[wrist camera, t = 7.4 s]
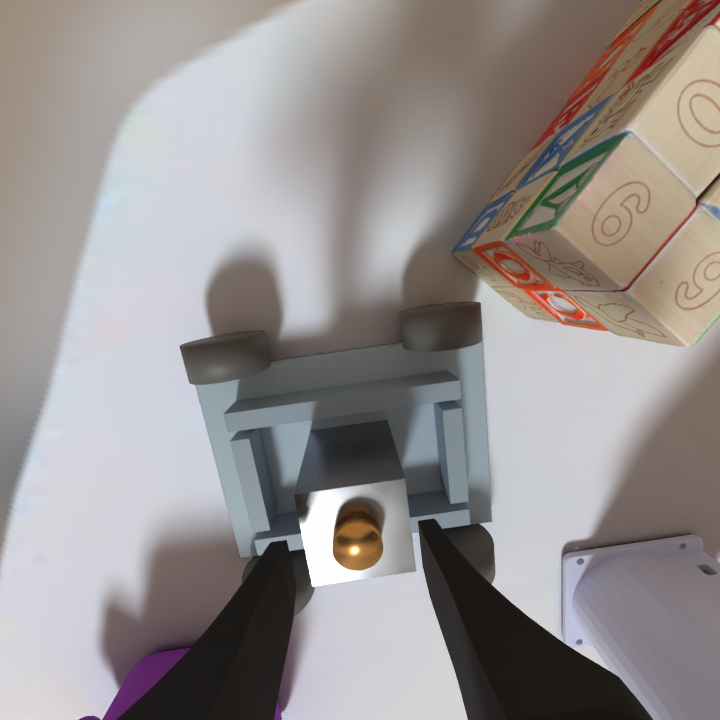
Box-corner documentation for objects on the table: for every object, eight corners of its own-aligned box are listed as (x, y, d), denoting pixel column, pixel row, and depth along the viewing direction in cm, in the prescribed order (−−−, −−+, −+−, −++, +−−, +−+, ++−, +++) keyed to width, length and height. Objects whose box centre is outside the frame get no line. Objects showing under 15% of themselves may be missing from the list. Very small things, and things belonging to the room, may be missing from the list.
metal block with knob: (387, 419, 19) (408, 490, 12) (396, 487, 20) (420, 587, 13) (310, 430, 19) (290, 508, 12) (322, 498, 20) (310, 603, 13)
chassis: (472, 299, 19) (505, 302, 15) (486, 535, 22) (516, 588, 18) (192, 338, 19) (151, 353, 15) (251, 569, 22) (230, 630, 18)
